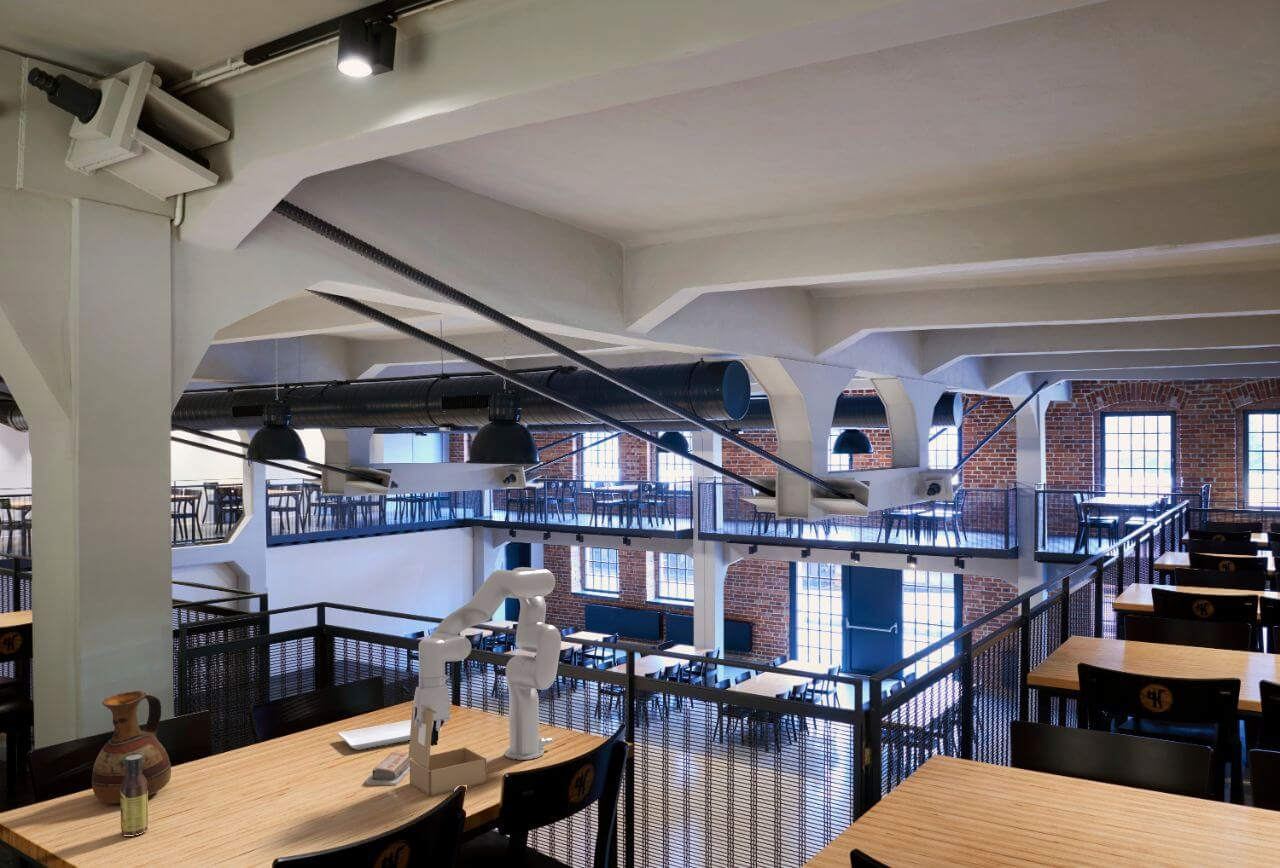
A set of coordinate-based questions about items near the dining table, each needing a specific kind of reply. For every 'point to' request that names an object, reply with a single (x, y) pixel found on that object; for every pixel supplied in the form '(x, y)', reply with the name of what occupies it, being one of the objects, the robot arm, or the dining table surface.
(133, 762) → the sauce bottle
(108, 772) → the ceramic pitcher
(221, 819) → the dining table surface
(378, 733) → the tray
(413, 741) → the lid
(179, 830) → the dining table surface
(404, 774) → the packaged product
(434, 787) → the mailer box
